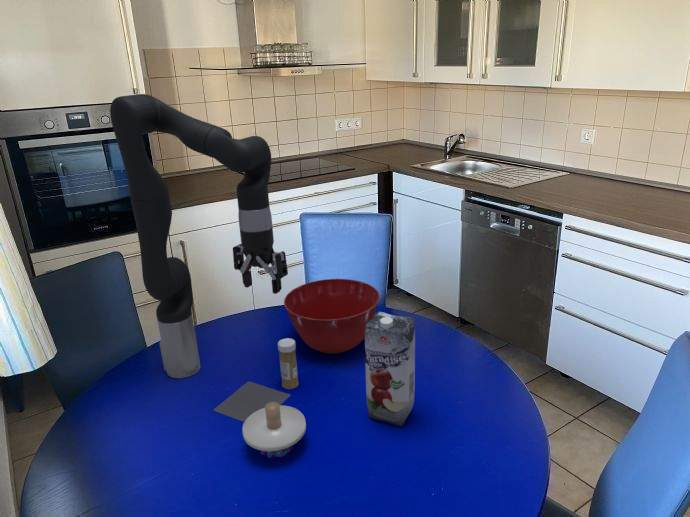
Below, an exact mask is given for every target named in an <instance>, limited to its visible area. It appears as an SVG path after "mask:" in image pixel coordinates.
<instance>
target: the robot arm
mask: <svg viewBox="0 0 690 517" xmlns="http://www.w3.org/2000/svg"><path fill="white" fill-rule="evenodd" d="M111 101H112V102H111V104H110V108H109V115H110V121H111V125H112V129H113V133H114V135H115V139H116V142H117V146H118V149H119V153H120V156H121V159H122V162H123V167H124V171H125V176H126V179H127V180H126V181H127V185H128V190H129V191H128V192H129V196H130V201H131V202H130V203H131V207H132V212H133V217H134V221H135V227H136V232H137V237H138V243H139V251H140V260H141V271H142V280H143V284H144V287H145V290H146V292H147V293H148V295H149V296H151V298H153V299H155V300H157V301H159V303H158V305H157V307H156V311H155V314H156V321H157V326H158V329H159V330H158V331H159V337H160V341H159V348H160V354H161V358H162V363H163V370H164V371H165V372H166V374H167V376H169V377H170V378H172V379H173V378H174V379H184V378H189V377H191V376H193V375H196V374H197V373H198V372H199V371H200V369H201V362H200V355H199V349H198V343H197V335H196V329H195V323H194V318H193V311H192V309H193V308H192V307H193V304H194V294H193V286H192V279H191V278H192V277H191V273H190V269H189V268H188V266H187V265H186V263H185V262H184V261H183V260H182V259H180V258H179V257H176V256H170V257H168V253H167V245H168V238H169V234H170V230H171V224H172V218H173V208H172V202H171V194H170V191H169V187H168V184H167V182H166V181H165V179H164V178H163V177H162V175H161V174H160V173H159V172H158V170H157V169H156V167H154V165H153V164H152V162H151V161H150V159H149V156H148V153H147V151H146V146H145V141H144V136H143V135H148V134H152V133H163V134H168V135H171V136H174V137H176V138H177V139H178V140H179V141H180V142H181V143H182V144H183V145H184V146H185V147H186V148H188V149H190V150H192V151H194V152H196V153H198V154H201V155H204V156H207V157H210V158H212V159H214V160H216V162H218V163H220V164H221V165H222V166H224V167H225V168H226V169H229V170H230V171H233V172H236V173H244V175H243V179H242V180H240V182H239V183H237V186H236V197H237V198H236V199H237V205H238V206H237V208H238V215H237V216H238V225H239V234H240V243H239V244H237V245H235V246H233V247H232V256H233V268H234V270H235V271H237V270H238V271H239V272H240V273H241V278H242V284H243V285H244V288H250V287H251V286H252V285H253V277H252V271H251V269H252V267H253V268H260V269H263V270H264V271H265V273H268V275H269V276H270V278H271V288H272V289H271V290H272V291H271V292H272V294H274V295H277V294H278V293H280V292H281V290H282V289H283V288H282V279H283V278H285V277H286V276H288V275H289V270H288V264H287V256H286V252H285V251H284V250H283V251H280V252H278V251H275V250H274V248H273V247H274V242H275V241H274V231H273V217H272V212H271V209H270V208H271V207H270V199H269V198H270V197H269V189H268V187H269V181H270V175H271V168H272V166H271V165H272V151H271V149H270V146H269V144H268V142H267V141H266V140H265V138H263V137H262V136H259V135H251V136H247V137H243V138H241V139H240V138H239V139H238V138H234V137H233V136H232V133H231V132H229V130H228V129H225V128H222V127H221V126H218V125H216V124H212V123H209V122H207V121H203V120H200V119H197V118H195V117H194V116H193V117H192V116H190V115H187V114H186V113H184V112H182V111H180V110H178V109H176V108H174V107H173V106H170V105H169V104H167V103H165V102H164V101H162V100H161V99H159V98H157V97H154V96H153V95H151V94H148V93H147V94H145V93H141V94H140V93H139V94H130V95H123V96H117V97H115V98H114V99H113V100H111ZM270 265H271V266H270Z"/></svg>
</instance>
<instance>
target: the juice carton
mask: <svg viewBox="0 0 690 517" xmlns="http://www.w3.org/2000/svg"><path fill="white" fill-rule="evenodd" d="M415 326H416V322H415V318H414V317H413V316H412V317H411V316H399V315H393V314H389V313H387V312H383V311H377V312H375V315H374V317H373V318H372V319H371V320H370V321H369V322H368V323H367V324H366V325H365V338H364V352H365V353H364V354H365V389H366V390H365V393H366V394H365V395H366V398H365V399H366V405H367V406H366V407H367V412H368V417H369V418H370V419H373V420H375V421H376V420H377V421H379V422H383V423H384V422H385V423H388V424H391V425H394V426H399V427H403V425H404V424H405V421H406V420H407V418H408V417H409V415H410V413H411V411H412V409H413V406H414V403H415V388H416V386H415V384H416V383H415V380H416V378H415V377H416V375H415V373H416V369H415V368H416V366H415V365H416V331H415Z"/></svg>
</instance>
